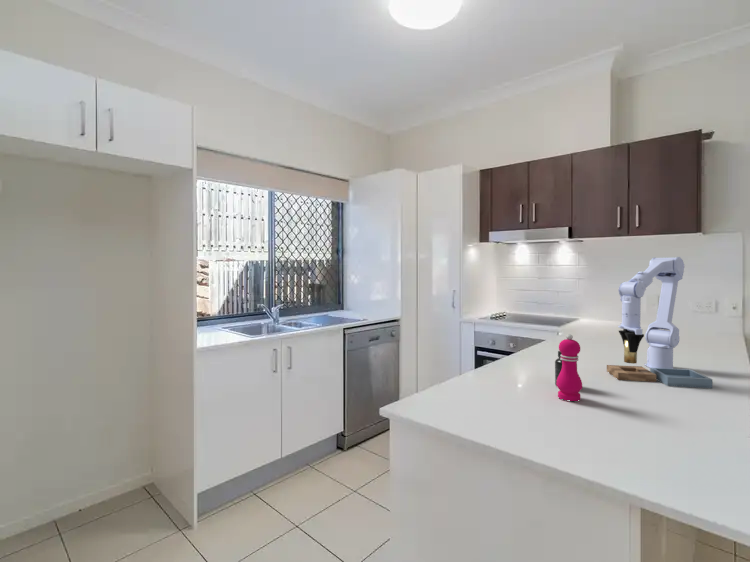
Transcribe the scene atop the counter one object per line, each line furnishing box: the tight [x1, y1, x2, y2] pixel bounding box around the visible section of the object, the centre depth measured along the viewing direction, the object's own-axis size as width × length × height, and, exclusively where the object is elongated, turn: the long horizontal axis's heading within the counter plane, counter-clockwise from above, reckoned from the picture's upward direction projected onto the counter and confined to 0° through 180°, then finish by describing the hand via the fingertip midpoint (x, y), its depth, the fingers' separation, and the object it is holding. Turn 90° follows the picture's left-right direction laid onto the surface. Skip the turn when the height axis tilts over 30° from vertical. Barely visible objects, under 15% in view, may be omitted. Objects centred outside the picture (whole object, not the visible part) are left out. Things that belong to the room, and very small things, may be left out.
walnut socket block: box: [606, 364, 657, 383], centre depth 146 cm, size 12×12×2 cm
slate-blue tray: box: [649, 368, 713, 389], centre depth 139 cm, size 13×13×3 cm
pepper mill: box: [555, 333, 583, 402], centre depth 122 cm, size 7×7×20 cm
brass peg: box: [623, 340, 638, 364], centre depth 146 cm, size 4×4×8 cm
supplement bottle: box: [554, 350, 562, 387], centre depth 134 cm, size 7×7×12 cm
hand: (630, 351), depth 146 cm, fingers closed on brass peg, 4 cm apart
